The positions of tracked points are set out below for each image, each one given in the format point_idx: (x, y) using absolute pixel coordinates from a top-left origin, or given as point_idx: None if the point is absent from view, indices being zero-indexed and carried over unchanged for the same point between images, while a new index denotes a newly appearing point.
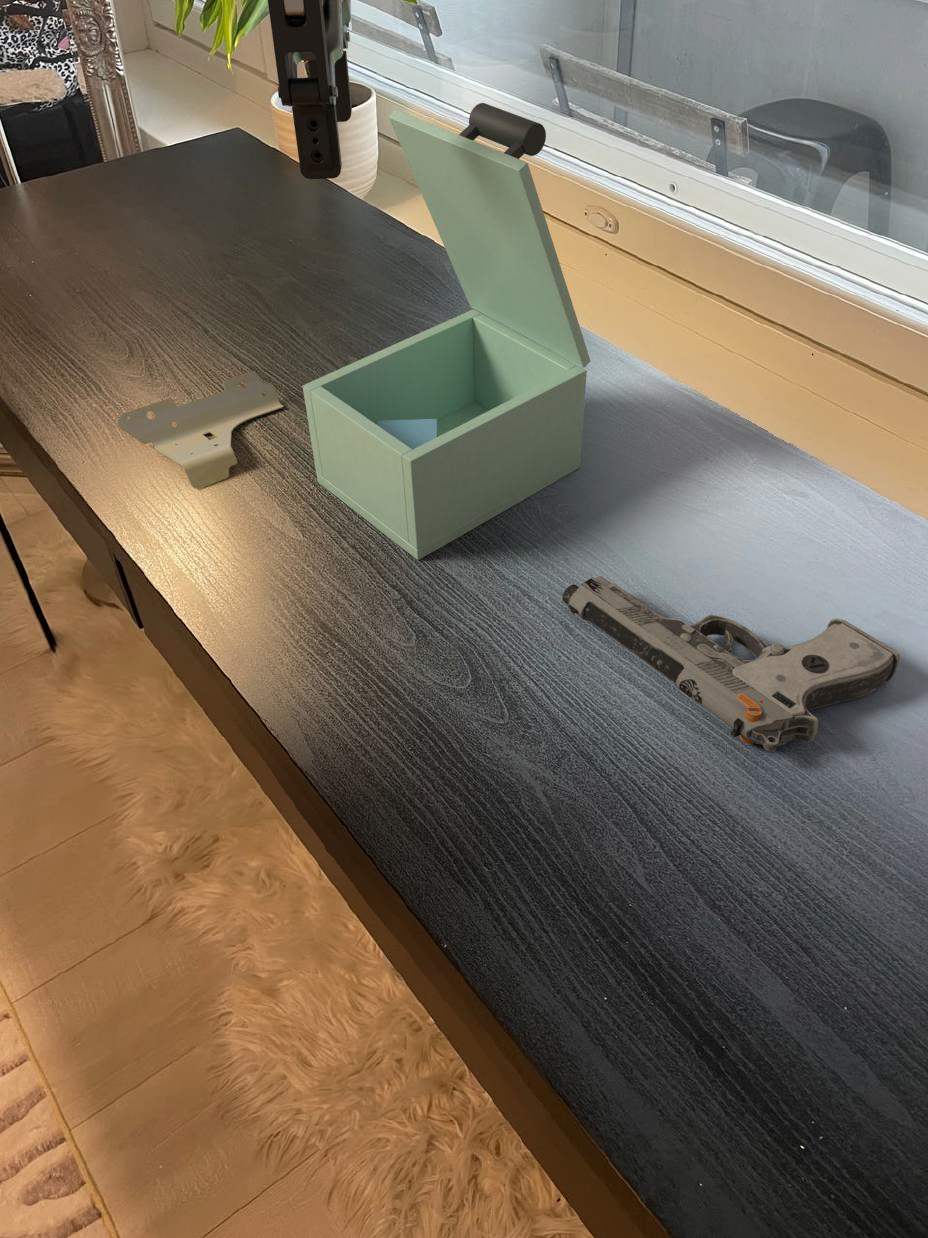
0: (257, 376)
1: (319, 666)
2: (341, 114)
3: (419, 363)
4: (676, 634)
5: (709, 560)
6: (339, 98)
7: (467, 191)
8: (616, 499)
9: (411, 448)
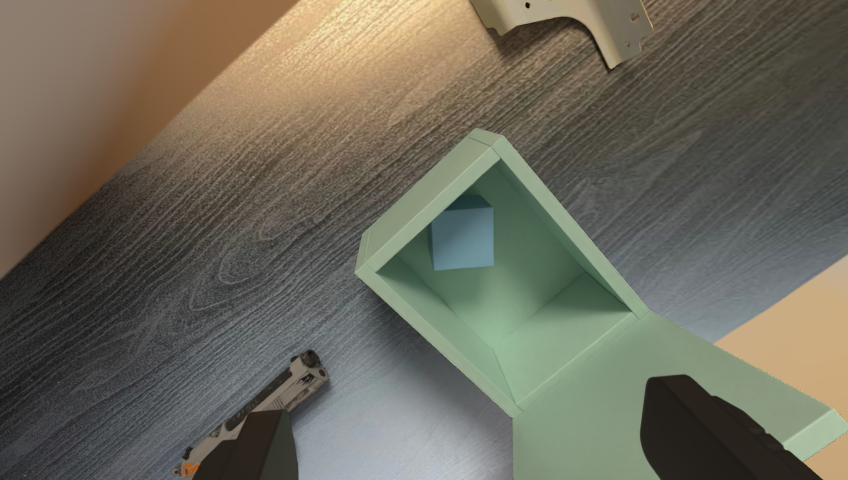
0: (646, 35)
1: (225, 166)
2: (649, 440)
3: (575, 249)
4: None
5: (373, 437)
6: (676, 471)
7: (634, 462)
8: (445, 380)
9: (442, 246)
